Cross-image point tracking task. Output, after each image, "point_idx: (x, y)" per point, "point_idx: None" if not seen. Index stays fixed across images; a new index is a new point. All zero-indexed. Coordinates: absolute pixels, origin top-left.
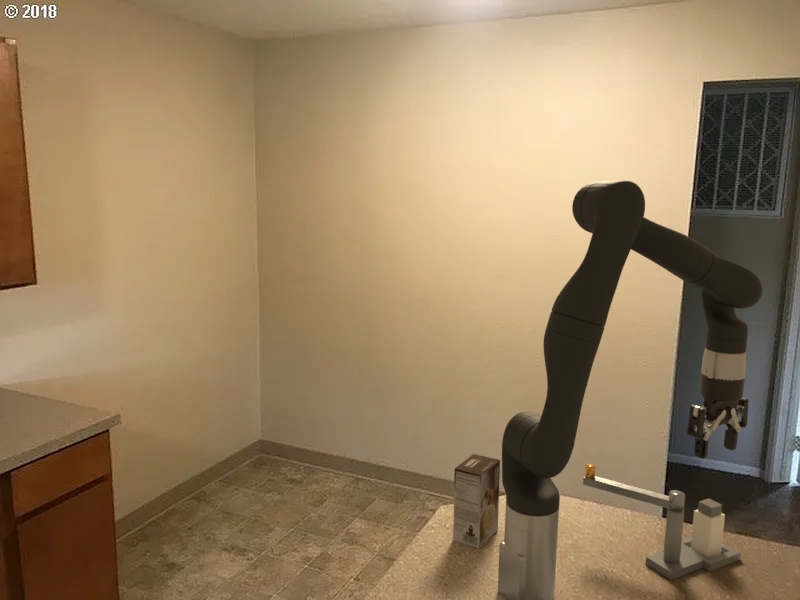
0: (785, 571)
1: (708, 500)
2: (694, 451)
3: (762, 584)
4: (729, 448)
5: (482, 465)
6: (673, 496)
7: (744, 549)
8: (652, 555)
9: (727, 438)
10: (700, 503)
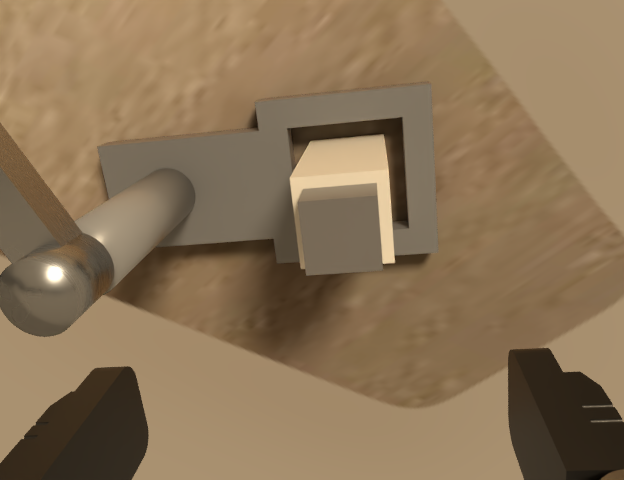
0: (509, 342)
1: (355, 211)
2: (53, 405)
3: (376, 358)
4: (511, 401)
5: None
6: (3, 307)
7: (511, 202)
8: (123, 149)
9: (534, 435)
10: (299, 210)
